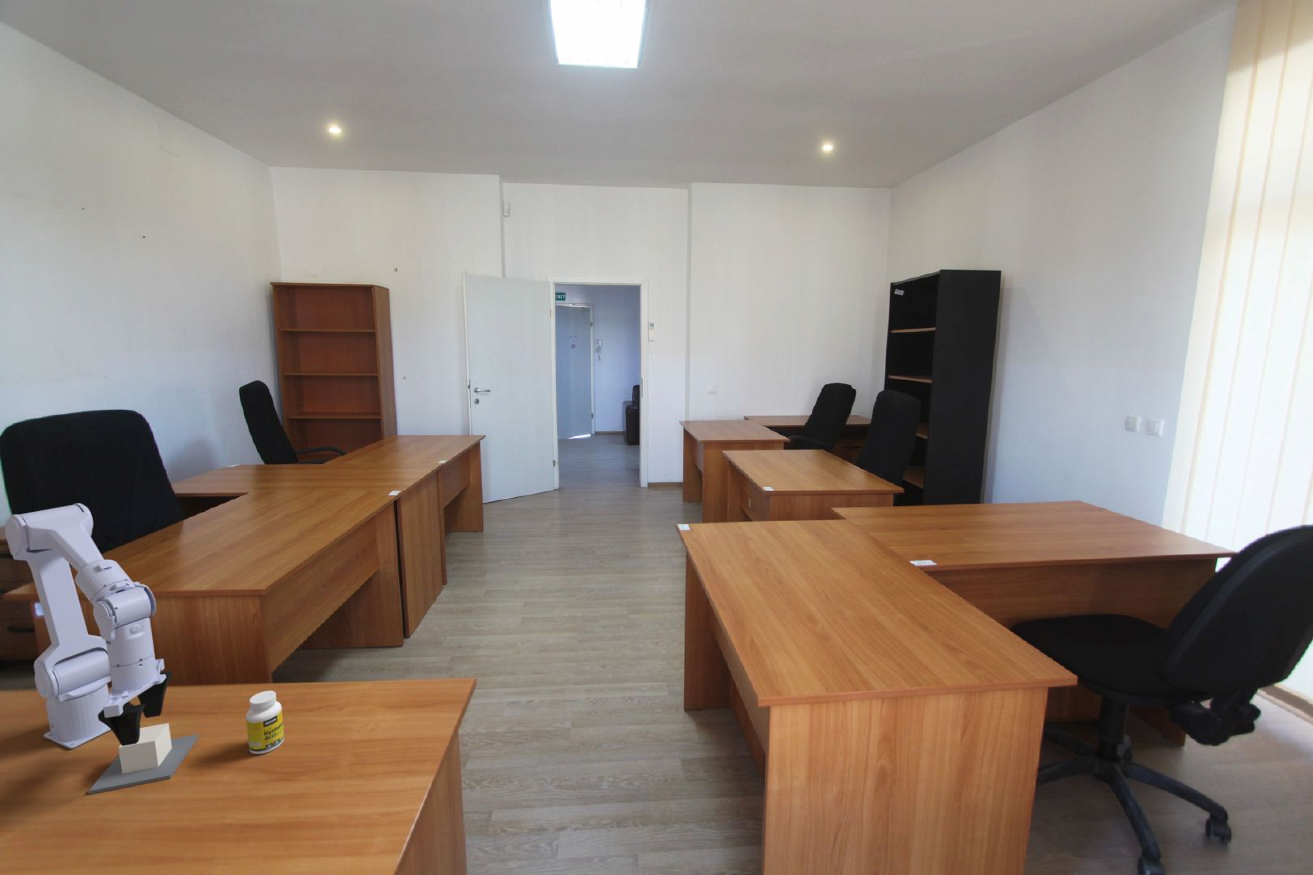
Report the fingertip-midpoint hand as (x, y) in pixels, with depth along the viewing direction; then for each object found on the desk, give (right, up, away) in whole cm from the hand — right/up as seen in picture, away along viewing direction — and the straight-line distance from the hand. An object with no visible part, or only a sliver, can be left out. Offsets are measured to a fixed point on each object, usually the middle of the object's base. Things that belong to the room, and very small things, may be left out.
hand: (142, 729), depth 98 cm
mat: (0, -7, +1) cm, 7 cm away
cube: (0, -6, +1) cm, 6 cm away
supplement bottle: (+18, -6, +6) cm, 20 cm away
